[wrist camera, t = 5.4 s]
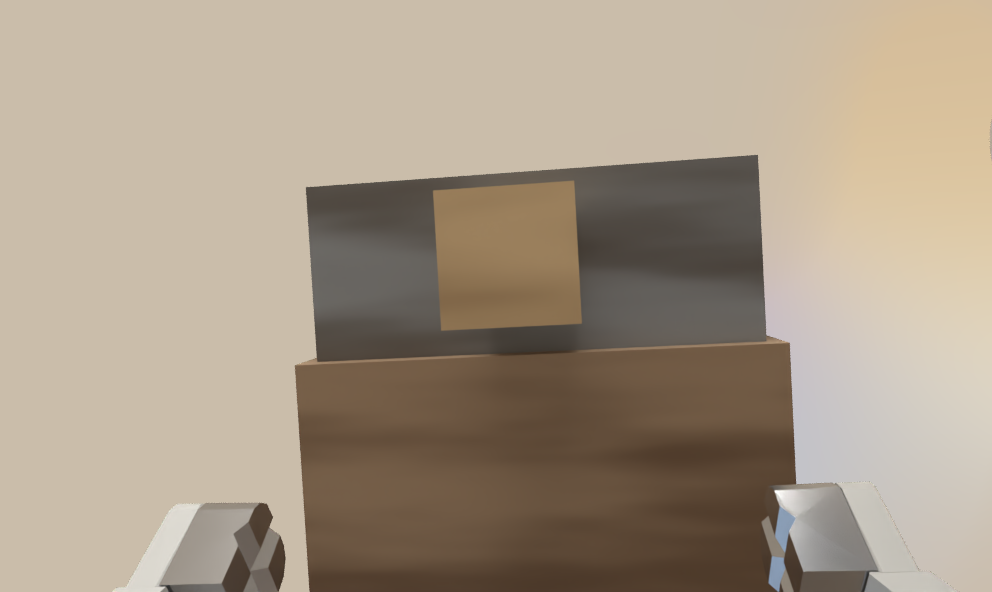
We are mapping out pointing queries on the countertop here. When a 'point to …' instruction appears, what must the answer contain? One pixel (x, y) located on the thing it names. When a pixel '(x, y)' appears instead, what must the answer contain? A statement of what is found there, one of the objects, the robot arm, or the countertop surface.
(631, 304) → the t bar
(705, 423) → the post
